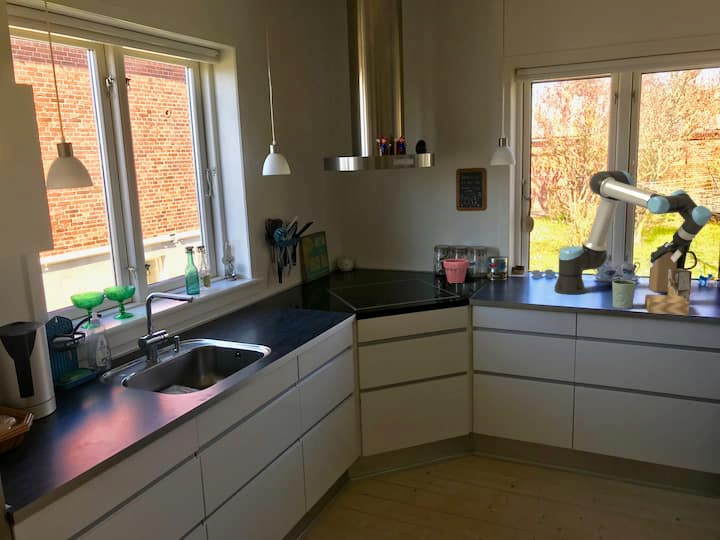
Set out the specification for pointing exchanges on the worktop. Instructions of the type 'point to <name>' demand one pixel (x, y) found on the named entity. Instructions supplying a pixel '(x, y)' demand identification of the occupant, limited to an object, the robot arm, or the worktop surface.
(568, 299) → the worktop surface
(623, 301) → the green ceramic cup
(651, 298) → the wooden box
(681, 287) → the coffee box
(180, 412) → the worktop surface
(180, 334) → the worktop surface
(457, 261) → the plant pot
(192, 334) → the worktop surface
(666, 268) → the wooden block
